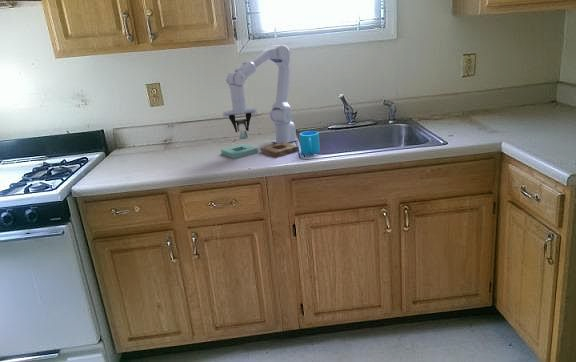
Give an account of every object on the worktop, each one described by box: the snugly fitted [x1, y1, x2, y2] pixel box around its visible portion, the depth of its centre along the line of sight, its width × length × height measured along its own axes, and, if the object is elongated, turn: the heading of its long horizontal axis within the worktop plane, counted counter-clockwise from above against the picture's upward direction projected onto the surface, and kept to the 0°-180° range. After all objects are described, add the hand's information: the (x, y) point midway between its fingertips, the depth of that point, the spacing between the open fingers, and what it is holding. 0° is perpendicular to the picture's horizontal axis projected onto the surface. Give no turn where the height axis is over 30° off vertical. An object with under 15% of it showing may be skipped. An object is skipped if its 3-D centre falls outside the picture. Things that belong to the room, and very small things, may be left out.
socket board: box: [220, 143, 259, 159], centre depth 201 cm, size 12×12×2 cm
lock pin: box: [235, 118, 249, 140], centre depth 197 cm, size 5×5×8 cm
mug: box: [299, 130, 321, 155], centre depth 190 cm, size 12×8×8 cm
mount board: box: [260, 142, 300, 158], centre depth 198 cm, size 12×12×2 cm
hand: (242, 131), depth 198 cm, fingers closed on lock pin, 4 cm apart
